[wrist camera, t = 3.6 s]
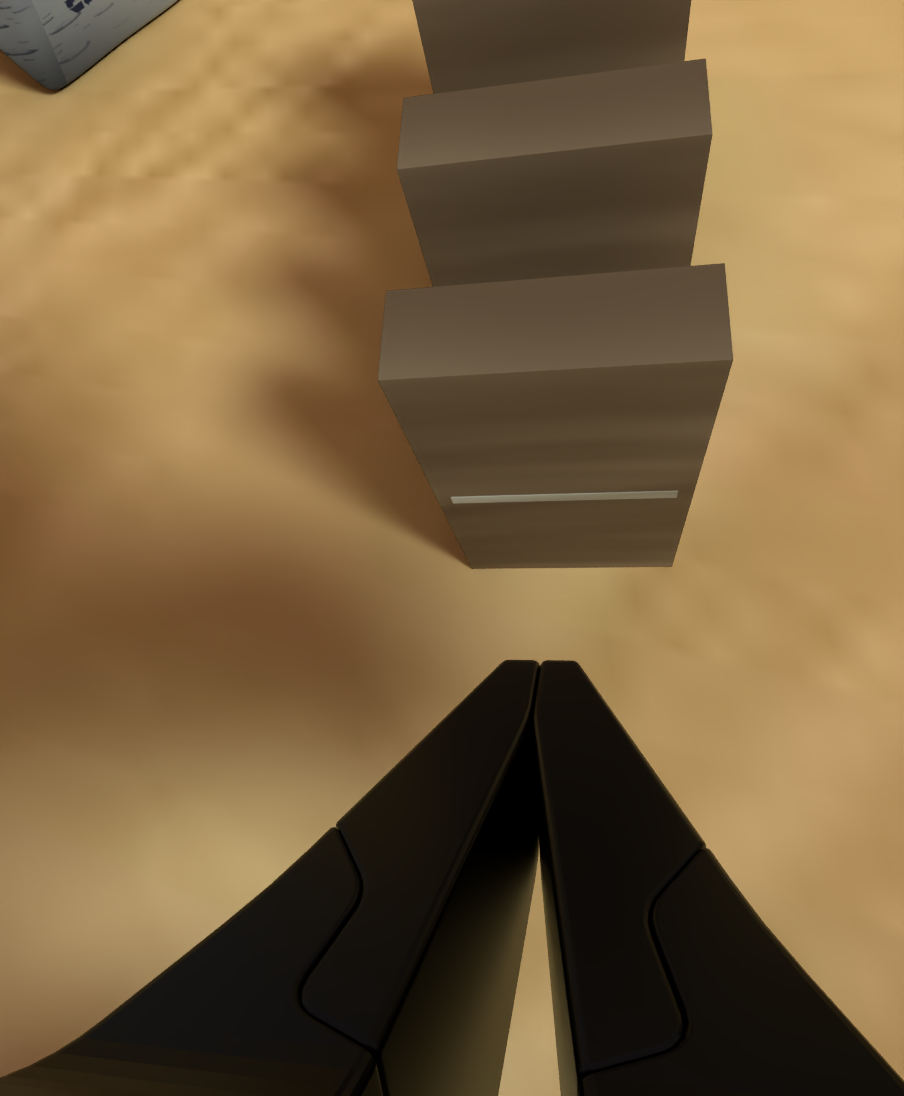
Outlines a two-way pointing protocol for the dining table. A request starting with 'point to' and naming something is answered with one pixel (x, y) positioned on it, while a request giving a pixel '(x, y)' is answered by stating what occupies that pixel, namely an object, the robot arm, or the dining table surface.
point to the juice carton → (69, 33)
